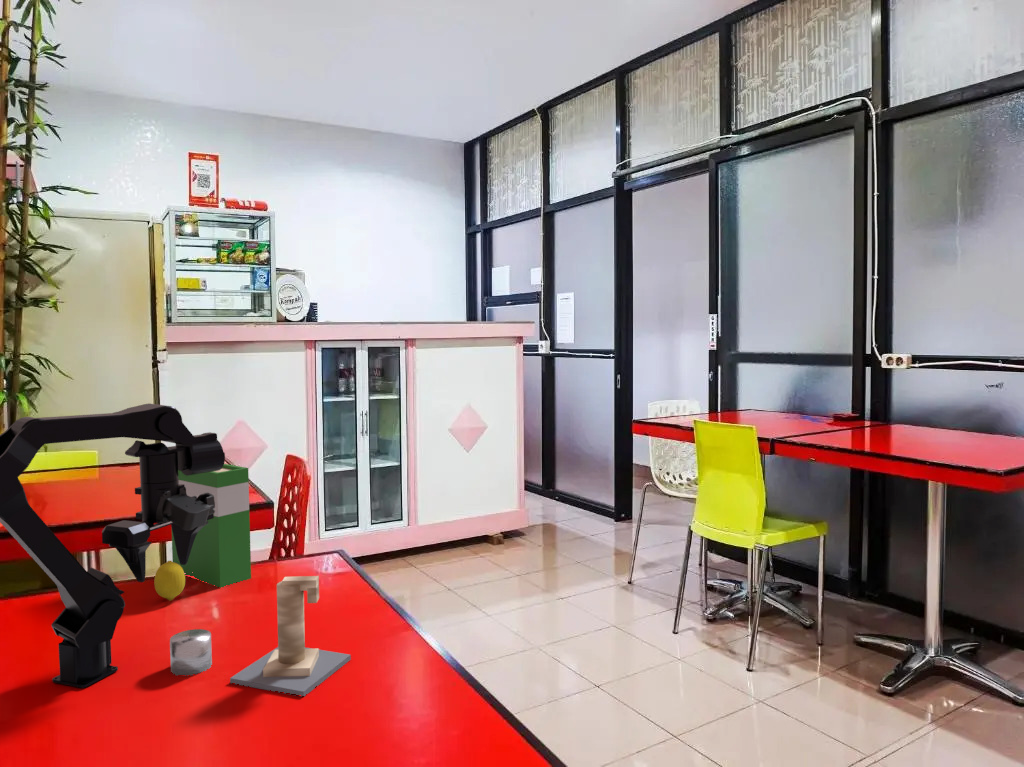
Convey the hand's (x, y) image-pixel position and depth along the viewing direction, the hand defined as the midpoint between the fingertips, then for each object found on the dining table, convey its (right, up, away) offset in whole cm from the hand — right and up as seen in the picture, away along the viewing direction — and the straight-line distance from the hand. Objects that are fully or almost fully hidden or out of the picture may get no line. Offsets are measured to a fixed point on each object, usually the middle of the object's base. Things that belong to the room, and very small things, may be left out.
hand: (163, 572), depth 124 cm
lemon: (-9, -12, +23) cm, 27 cm away
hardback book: (-7, -10, +38) cm, 40 cm away
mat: (+24, -14, -7) cm, 28 cm away
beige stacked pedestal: (+24, -13, -7) cm, 28 cm away
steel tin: (+7, -14, -6) cm, 16 cm away
